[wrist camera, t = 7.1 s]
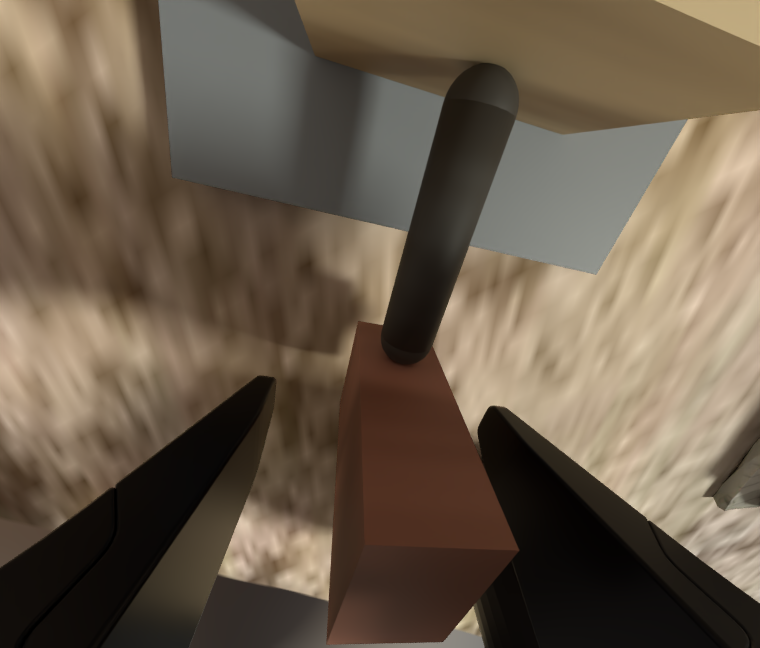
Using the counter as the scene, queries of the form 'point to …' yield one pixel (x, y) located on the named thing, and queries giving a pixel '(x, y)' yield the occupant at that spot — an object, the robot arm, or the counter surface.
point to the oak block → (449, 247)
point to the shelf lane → (377, 138)
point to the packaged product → (742, 484)
